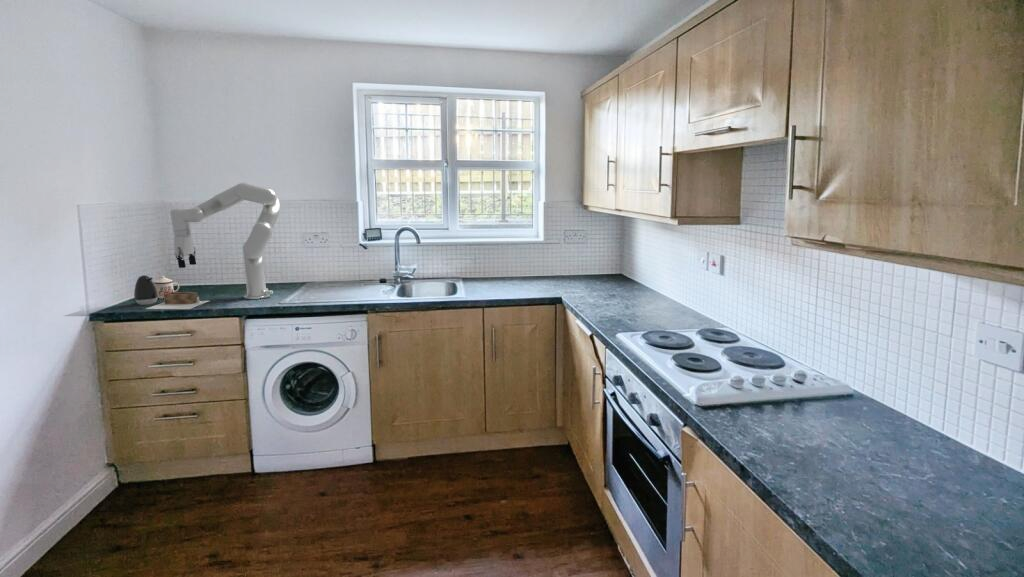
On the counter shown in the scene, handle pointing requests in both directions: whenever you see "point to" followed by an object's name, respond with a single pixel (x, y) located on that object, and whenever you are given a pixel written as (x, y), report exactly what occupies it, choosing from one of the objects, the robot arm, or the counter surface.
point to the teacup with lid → (164, 286)
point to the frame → (180, 297)
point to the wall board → (177, 305)
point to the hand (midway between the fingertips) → (187, 266)
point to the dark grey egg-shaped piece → (145, 291)
